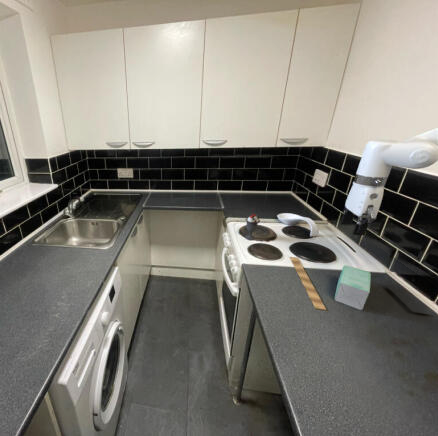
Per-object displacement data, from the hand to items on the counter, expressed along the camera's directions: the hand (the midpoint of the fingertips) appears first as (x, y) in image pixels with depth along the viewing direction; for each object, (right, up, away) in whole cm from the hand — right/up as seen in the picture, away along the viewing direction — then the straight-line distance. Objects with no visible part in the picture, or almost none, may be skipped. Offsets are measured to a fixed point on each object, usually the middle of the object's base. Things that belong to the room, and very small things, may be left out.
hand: (351, 228), depth 81 cm
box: (-2, -23, -1) cm, 23 cm away
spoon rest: (+10, -1, +46) cm, 47 cm away
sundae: (-20, -6, +36) cm, 42 cm away
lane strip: (-12, -20, +6) cm, 24 cm away
